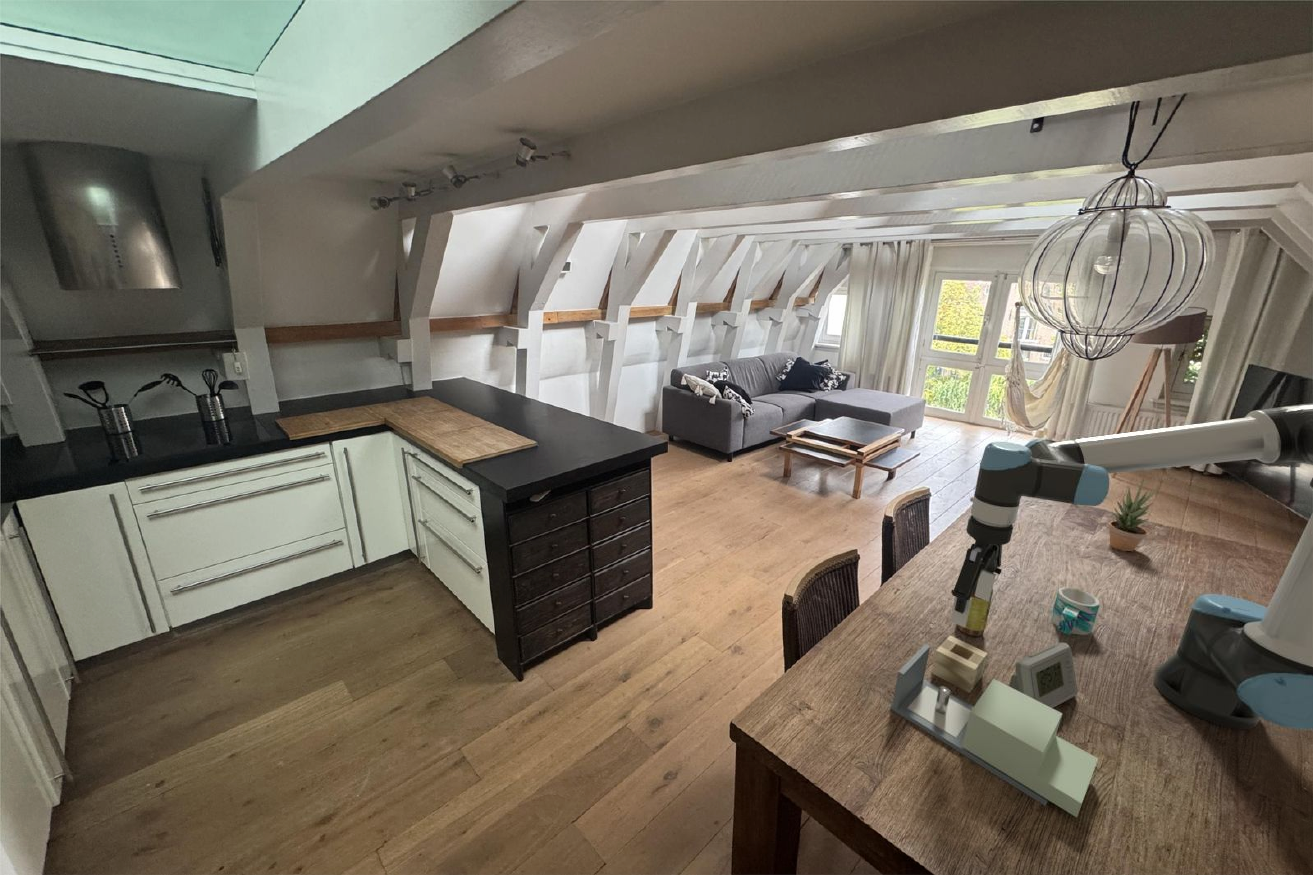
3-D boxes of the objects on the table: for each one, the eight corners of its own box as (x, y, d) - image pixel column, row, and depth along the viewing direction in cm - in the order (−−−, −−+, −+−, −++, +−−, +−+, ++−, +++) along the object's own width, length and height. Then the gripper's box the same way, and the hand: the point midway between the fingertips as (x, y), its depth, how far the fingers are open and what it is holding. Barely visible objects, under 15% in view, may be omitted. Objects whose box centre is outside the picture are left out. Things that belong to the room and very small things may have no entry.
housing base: (1064, 762, 91) (1078, 721, 88) (1045, 806, 83) (1059, 762, 81) (917, 679, 110) (924, 643, 107) (890, 709, 102) (897, 670, 100)
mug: (1094, 626, 128) (1103, 597, 126) (1083, 647, 121) (1092, 617, 118) (1055, 610, 134) (1062, 583, 132) (1041, 629, 127) (1049, 600, 124)
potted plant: (1149, 555, 162) (1173, 483, 155) (1119, 554, 162) (1142, 483, 155) (1122, 539, 172) (1144, 471, 165) (1094, 539, 172) (1114, 471, 165)
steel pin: (946, 715, 101) (952, 690, 99) (942, 720, 100) (948, 695, 98) (936, 708, 102) (941, 684, 101) (932, 714, 101) (937, 689, 99)
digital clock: (1026, 722, 100) (1039, 678, 96) (988, 688, 108) (999, 646, 105) (1092, 708, 103) (1106, 665, 100) (1050, 676, 111) (1062, 635, 108)
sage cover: (1093, 771, 88) (1106, 735, 86) (1076, 817, 80) (1090, 779, 78) (985, 711, 100) (993, 678, 98) (961, 746, 93) (970, 711, 90)
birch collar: (982, 676, 111) (987, 653, 109) (969, 693, 106) (974, 669, 105) (945, 657, 117) (950, 635, 115) (931, 672, 112) (936, 650, 110)
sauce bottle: (988, 639, 123) (1005, 567, 117) (960, 635, 124) (975, 564, 118) (977, 622, 129) (993, 553, 123) (950, 619, 130) (965, 550, 124)
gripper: (991, 497, 111) (972, 581, 117) (946, 530, 96) (926, 625, 102) (1032, 508, 106) (1010, 596, 112) (990, 546, 90) (967, 645, 96)
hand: (970, 610), depth 107 cm, fingers open, 13 cm apart
